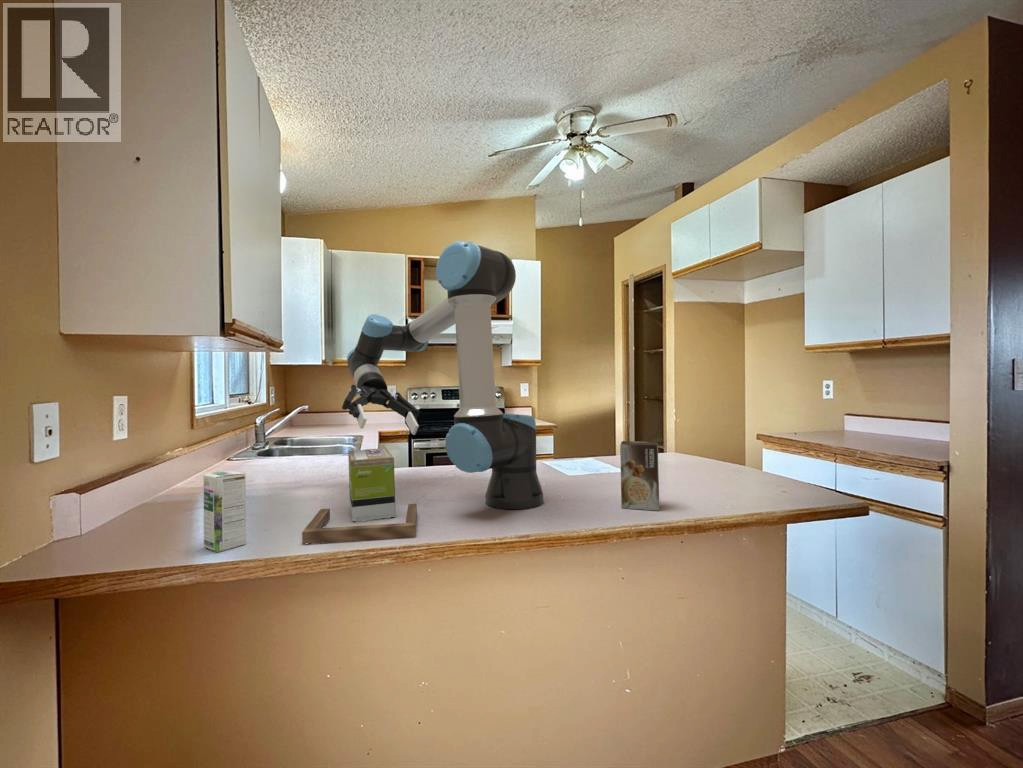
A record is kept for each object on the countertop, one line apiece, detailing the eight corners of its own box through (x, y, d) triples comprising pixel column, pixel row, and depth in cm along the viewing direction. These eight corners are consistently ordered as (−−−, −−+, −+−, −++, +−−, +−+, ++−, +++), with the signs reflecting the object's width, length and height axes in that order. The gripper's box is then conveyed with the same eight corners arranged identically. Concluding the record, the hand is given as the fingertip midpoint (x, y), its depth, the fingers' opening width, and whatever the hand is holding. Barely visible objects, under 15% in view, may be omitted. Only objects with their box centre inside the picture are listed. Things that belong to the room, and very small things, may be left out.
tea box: (348, 507, 126) (347, 449, 126) (388, 503, 130) (387, 447, 129) (351, 523, 112) (350, 458, 112) (396, 518, 116) (395, 455, 115)
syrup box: (202, 547, 97) (200, 474, 97) (233, 539, 102) (231, 469, 101) (217, 553, 94) (215, 477, 93) (248, 544, 99) (246, 471, 98)
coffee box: (660, 504, 125) (659, 441, 124) (659, 511, 119) (658, 444, 118) (623, 502, 128) (622, 440, 127) (620, 508, 122) (619, 443, 121)
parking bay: (416, 514, 119) (416, 503, 119) (415, 537, 101) (415, 525, 101) (320, 519, 115) (320, 508, 115) (302, 544, 98) (302, 532, 98)
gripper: (407, 401, 145) (430, 444, 129) (320, 387, 130) (334, 434, 114) (416, 379, 142) (440, 420, 127) (329, 362, 128) (344, 407, 112)
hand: (390, 427), depth 120 cm, fingers open, 13 cm apart
